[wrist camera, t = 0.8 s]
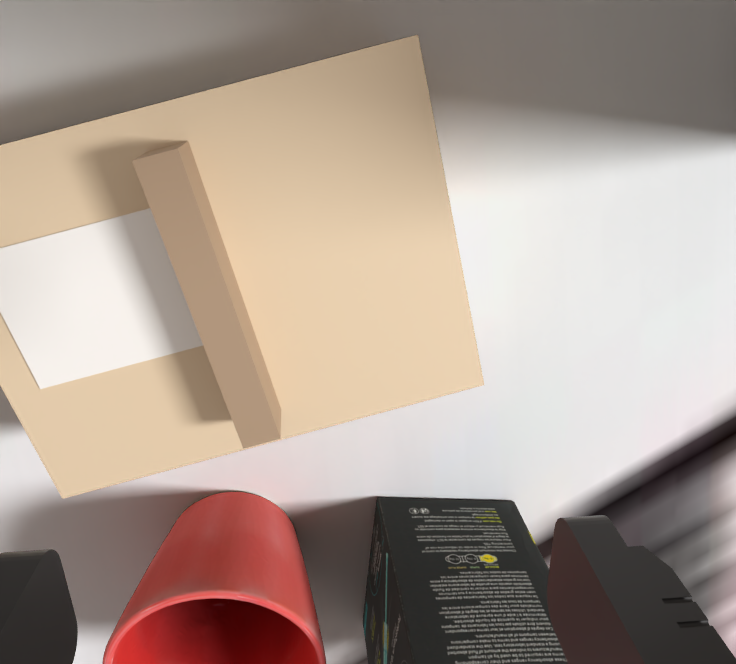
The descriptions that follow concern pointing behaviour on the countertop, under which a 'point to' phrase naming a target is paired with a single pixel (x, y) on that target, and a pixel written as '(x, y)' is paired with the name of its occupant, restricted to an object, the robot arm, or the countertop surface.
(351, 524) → the countertop surface
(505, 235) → the countertop surface
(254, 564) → the flower pot
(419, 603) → the tampon box
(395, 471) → the countertop surface
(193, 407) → the lid
